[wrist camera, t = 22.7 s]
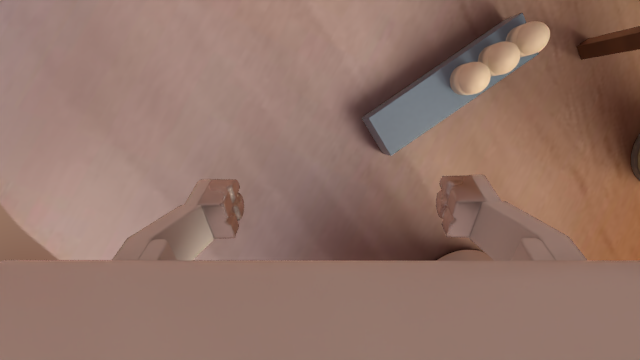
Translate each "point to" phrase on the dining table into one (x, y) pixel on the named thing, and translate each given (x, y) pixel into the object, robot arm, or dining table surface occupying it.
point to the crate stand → (610, 43)
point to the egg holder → (455, 82)
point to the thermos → (636, 158)
